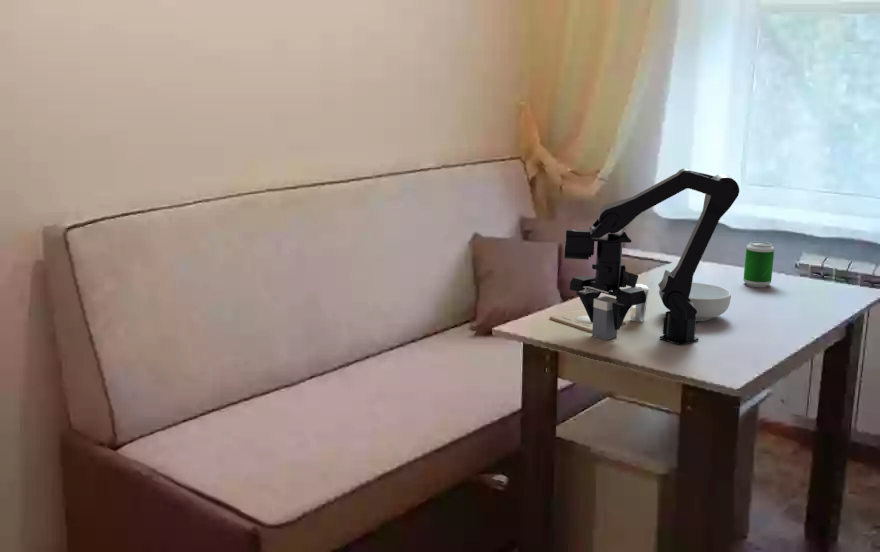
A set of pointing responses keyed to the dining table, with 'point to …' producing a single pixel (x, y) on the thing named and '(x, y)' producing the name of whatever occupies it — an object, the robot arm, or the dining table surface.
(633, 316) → the milkshake
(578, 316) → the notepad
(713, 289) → the cereal bowl
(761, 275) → the soda can
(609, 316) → the grey and white block
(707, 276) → the dining table surface
